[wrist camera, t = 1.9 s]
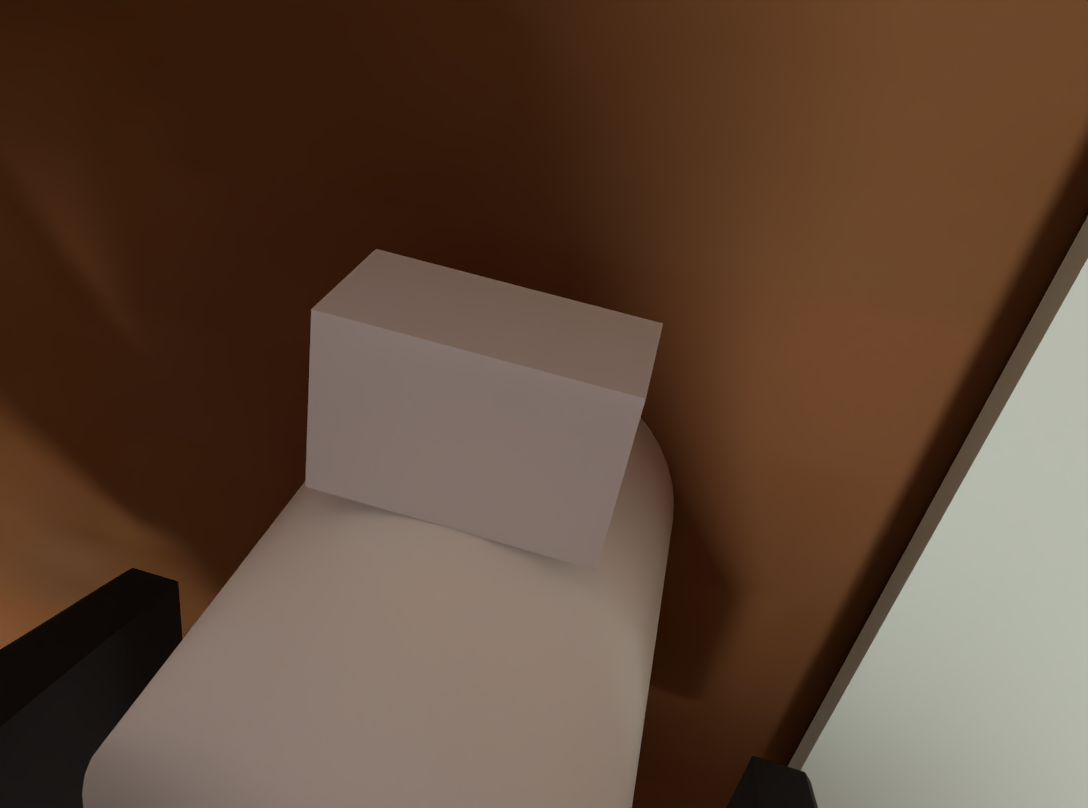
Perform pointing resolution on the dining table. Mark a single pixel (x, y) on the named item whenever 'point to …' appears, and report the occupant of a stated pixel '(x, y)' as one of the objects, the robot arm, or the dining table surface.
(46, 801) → the robot arm
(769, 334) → the dining table surface
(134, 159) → the dining table surface
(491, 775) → the grey rounded piece
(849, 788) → the mat
